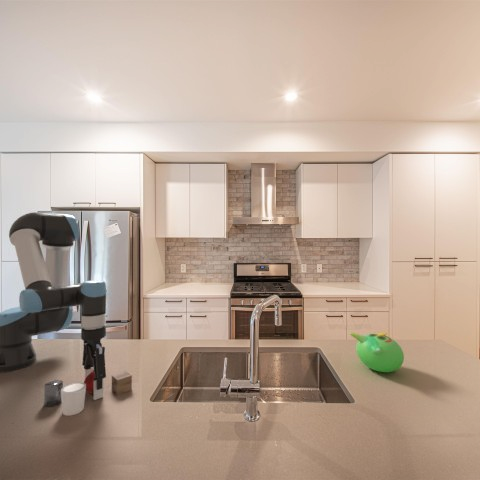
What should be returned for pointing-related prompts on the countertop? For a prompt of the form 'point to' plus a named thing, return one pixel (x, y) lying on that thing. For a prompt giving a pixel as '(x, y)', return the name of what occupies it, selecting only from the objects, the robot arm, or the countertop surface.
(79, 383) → the white short cylinder
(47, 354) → the countertop surface
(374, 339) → the toy bird
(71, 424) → the countertop surface
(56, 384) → the metal tin
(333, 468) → the countertop surface
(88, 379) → the onion
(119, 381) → the walnut block
